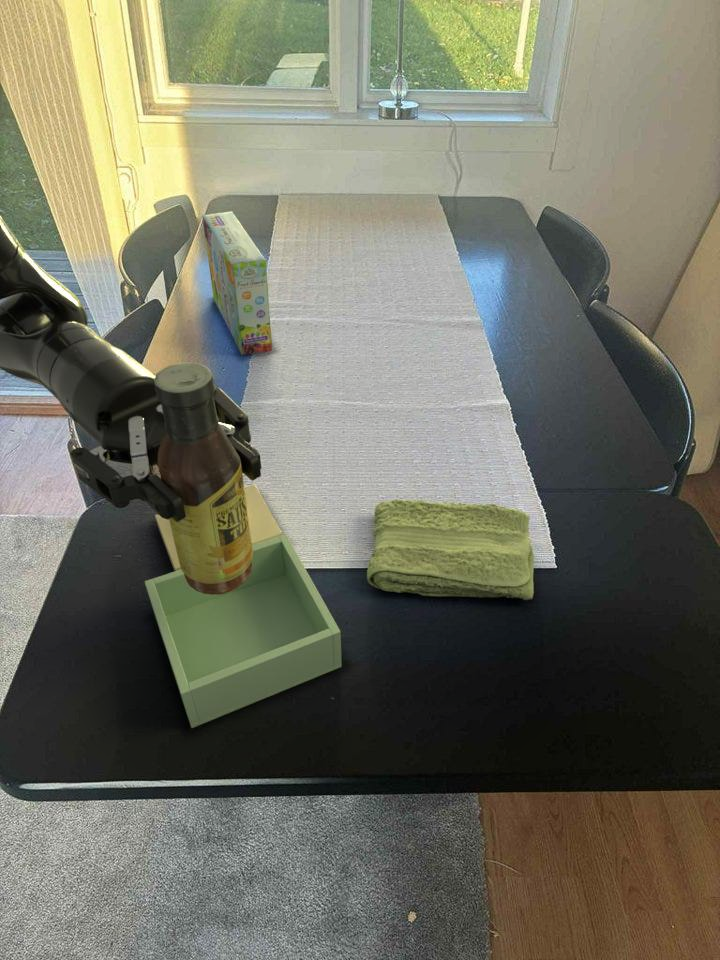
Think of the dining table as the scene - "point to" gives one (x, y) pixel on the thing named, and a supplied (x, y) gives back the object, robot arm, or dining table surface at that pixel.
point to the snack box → (238, 282)
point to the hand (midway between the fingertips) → (219, 489)
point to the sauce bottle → (203, 482)
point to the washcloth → (451, 550)
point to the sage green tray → (245, 633)
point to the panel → (259, 523)
